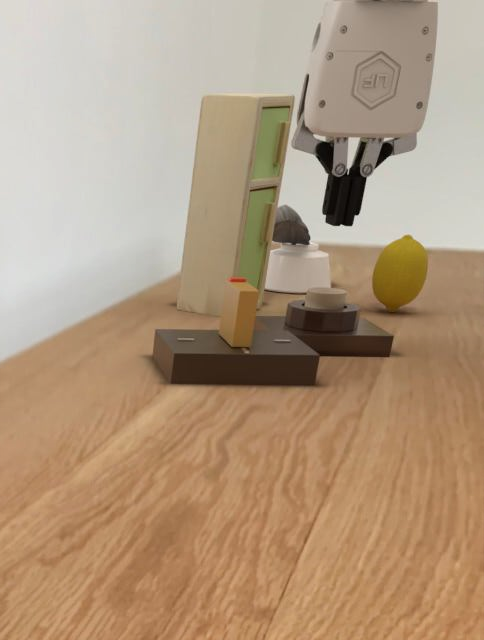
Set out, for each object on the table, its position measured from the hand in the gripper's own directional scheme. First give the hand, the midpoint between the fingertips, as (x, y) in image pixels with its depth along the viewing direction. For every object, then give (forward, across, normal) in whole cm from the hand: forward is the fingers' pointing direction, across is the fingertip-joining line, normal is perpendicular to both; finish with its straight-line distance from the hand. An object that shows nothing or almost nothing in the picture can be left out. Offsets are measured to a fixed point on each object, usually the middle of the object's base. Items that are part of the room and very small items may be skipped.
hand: (338, 224), depth 101 cm
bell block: (+11, 0, 0) cm, 11 cm away
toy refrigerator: (+11, -5, +20) cm, 23 cm away
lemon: (+11, +14, +20) cm, 27 cm away
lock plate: (+11, -11, -12) cm, 20 cm away
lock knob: (+8, -11, -12) cm, 18 cm away
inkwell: (+11, +5, +32) cm, 34 cm away
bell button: (+7, 0, 0) cm, 7 cm away
